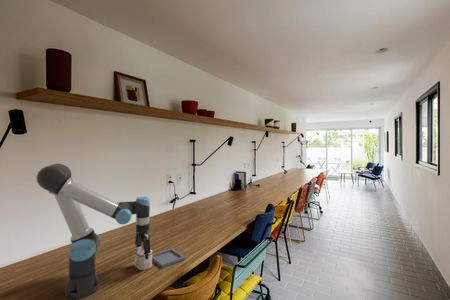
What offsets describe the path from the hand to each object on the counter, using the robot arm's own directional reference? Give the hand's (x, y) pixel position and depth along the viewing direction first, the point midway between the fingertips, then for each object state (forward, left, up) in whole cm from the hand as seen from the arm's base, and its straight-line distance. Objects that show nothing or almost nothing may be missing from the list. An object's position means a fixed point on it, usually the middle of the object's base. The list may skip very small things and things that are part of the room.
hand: (142, 260), depth 148 cm
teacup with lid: (0, 0, -4) cm, 4 cm away
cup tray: (+16, 0, -4) cm, 17 cm away
